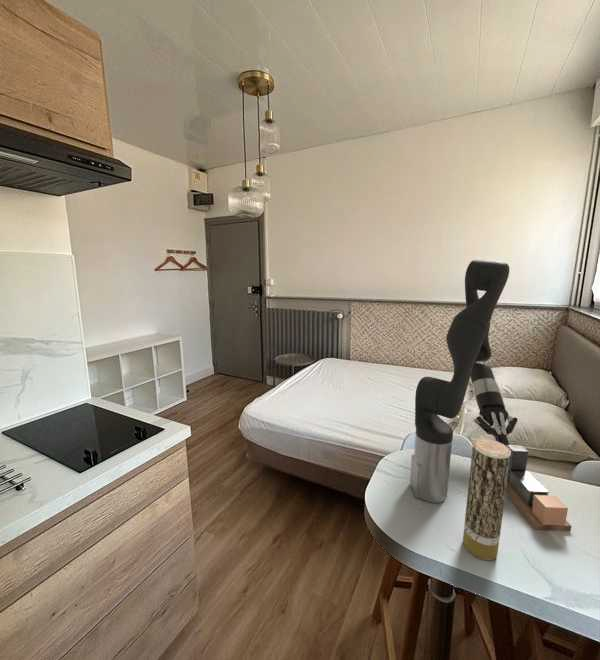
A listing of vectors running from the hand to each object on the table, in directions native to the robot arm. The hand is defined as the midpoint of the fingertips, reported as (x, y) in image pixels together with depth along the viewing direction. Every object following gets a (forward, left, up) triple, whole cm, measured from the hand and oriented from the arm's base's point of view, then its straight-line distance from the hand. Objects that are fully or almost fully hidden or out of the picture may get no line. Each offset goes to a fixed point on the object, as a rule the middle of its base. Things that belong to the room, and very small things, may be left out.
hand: (504, 448), depth 94 cm
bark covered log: (-20, -28, -8) cm, 35 cm away
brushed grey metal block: (0, -13, -6) cm, 14 cm away
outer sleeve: (0, -12, -7) cm, 14 cm away
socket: (0, -20, -7) cm, 21 cm away
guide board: (0, -12, -8) cm, 14 cm away
